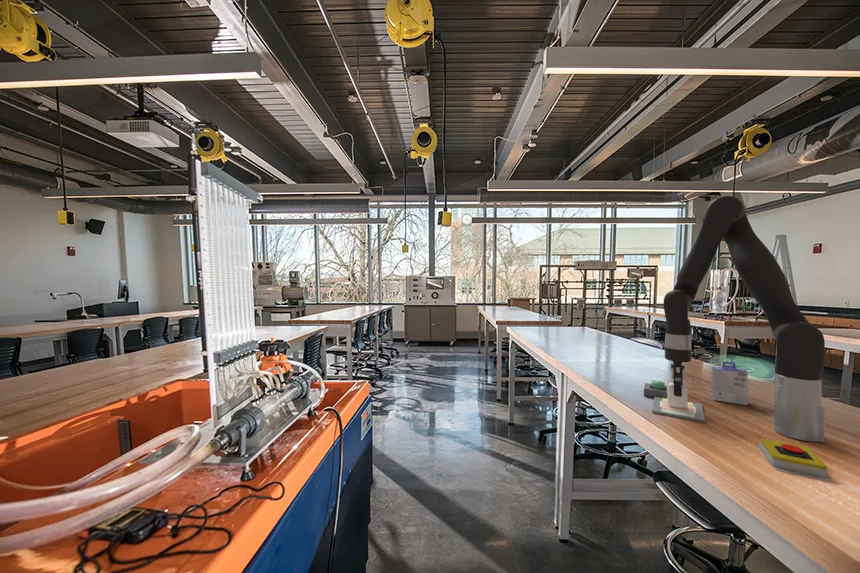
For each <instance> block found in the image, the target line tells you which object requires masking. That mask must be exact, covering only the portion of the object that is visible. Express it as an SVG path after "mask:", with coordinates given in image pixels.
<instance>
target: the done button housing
mask: <svg viewBox="0 0 860 573" xmlns="http://www.w3.org/2000/svg"><path fill="white" fill-rule="evenodd" d="M667 387H668V385H665V390H659V389H652V388H651V383H648V382H645V383H644V386H643V397H647V398H648V397H649V398H653V399H654V396H656V397H663V398H667Z"/></svg>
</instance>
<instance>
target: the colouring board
mask: <svg viewBox="0 0 860 573" xmlns="http://www.w3.org/2000/svg"><path fill="white" fill-rule="evenodd" d="M702 405H703V404H702V403H698V402H692V401H688V407H687V408H684V409H682V408H673V407H670V406H669V405H668V404H667V398H663V397H656V396H654V398H653V405H652V412H651V413H652V414H657V415H662V416H668V417H672V418H678V419H683V420H688V421H692V422H699V423H704V424H706V417H705V413H704V410H703V406H702Z"/></svg>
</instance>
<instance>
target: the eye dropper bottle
mask: <svg viewBox="0 0 860 573" xmlns="http://www.w3.org/2000/svg"><path fill="white" fill-rule="evenodd" d="M675 381H681V380H679V379H675ZM667 386H668V387H667V404H668V405H669V406H670V407H673V408H682V409H684V408H687V407H688V402H689V401H688V400H689V399H688V394H689V393H688V390H689V389H688V386H687V385H686V384H684V383H683V385H682V396H681V397H679V396H675V395H674V385H673V382H670V383H668V384H667Z"/></svg>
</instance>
